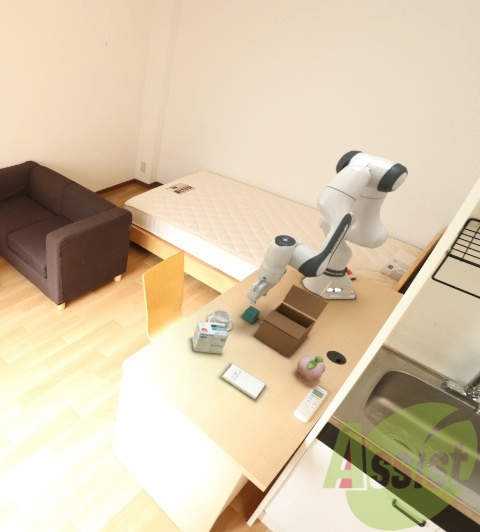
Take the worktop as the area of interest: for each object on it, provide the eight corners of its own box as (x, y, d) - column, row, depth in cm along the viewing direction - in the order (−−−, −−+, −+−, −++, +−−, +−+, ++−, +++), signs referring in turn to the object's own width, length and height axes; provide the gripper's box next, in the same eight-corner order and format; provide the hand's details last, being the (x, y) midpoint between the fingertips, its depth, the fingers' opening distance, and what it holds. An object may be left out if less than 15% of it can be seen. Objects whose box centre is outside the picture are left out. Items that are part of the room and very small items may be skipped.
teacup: (223, 335, 146) (226, 327, 144) (202, 321, 153) (205, 314, 150) (236, 325, 152) (239, 317, 149) (216, 312, 158) (218, 304, 155)
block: (247, 313, 158) (250, 305, 155) (257, 318, 155) (260, 311, 153) (242, 317, 156) (245, 309, 153) (251, 323, 153) (255, 315, 150)
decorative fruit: (298, 362, 137) (309, 344, 131) (321, 375, 132) (333, 358, 126) (288, 375, 132) (299, 357, 126) (311, 390, 127) (323, 372, 121)
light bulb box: (217, 341, 144) (225, 322, 137) (221, 354, 138) (229, 335, 132) (191, 338, 144) (197, 320, 138) (193, 351, 139) (200, 332, 133)
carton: (273, 318, 156) (282, 301, 150) (306, 337, 148) (317, 319, 142) (254, 336, 147) (263, 318, 141) (287, 357, 139) (298, 339, 132)
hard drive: (254, 400, 123) (221, 378, 129) (264, 386, 127) (231, 365, 134) (256, 397, 122) (222, 375, 128) (265, 383, 126) (233, 362, 133)
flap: (282, 301, 150) (282, 301, 150) (316, 320, 142) (316, 319, 142) (293, 284, 147) (293, 284, 147) (328, 302, 139) (328, 302, 139)
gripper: (265, 287, 133) (252, 314, 141) (289, 268, 144) (276, 294, 152) (249, 279, 137) (238, 305, 145) (274, 261, 148) (262, 286, 156)
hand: (257, 299), depth 149 cm, fingers open, 8 cm apart
